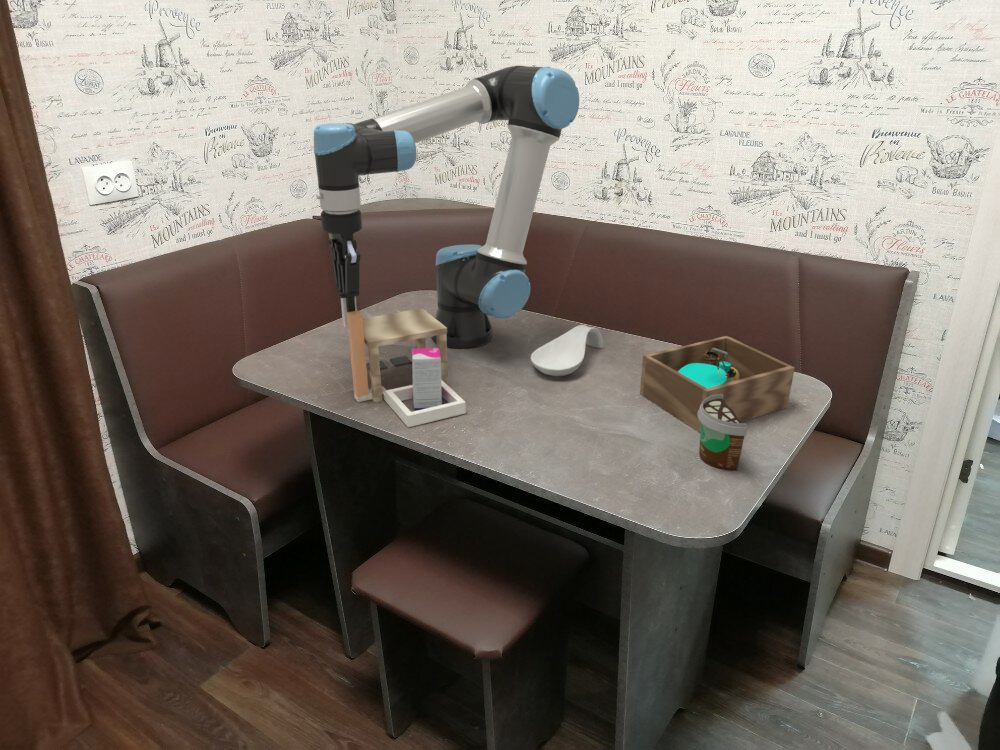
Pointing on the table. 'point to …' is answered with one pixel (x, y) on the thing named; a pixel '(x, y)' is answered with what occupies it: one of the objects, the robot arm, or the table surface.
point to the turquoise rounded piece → (711, 370)
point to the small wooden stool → (401, 339)
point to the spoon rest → (566, 351)
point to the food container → (720, 434)
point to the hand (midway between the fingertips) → (350, 325)
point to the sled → (398, 394)
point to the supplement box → (426, 378)
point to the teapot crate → (748, 397)
